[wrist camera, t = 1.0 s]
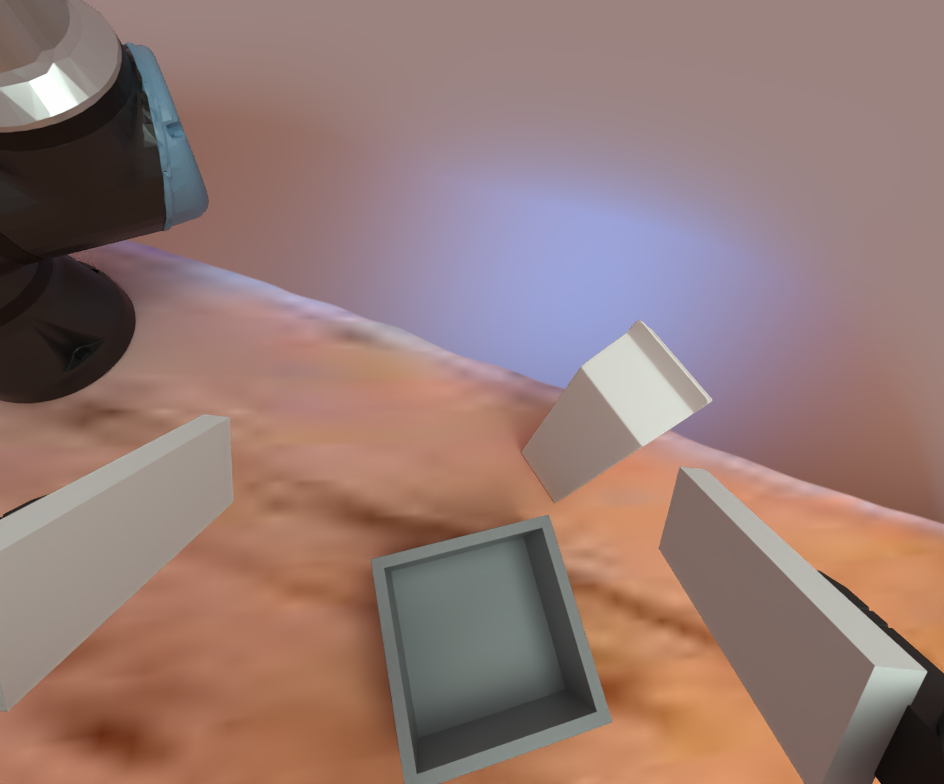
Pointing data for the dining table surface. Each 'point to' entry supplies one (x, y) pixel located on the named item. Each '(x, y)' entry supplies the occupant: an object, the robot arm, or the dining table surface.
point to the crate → (484, 650)
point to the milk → (612, 411)
